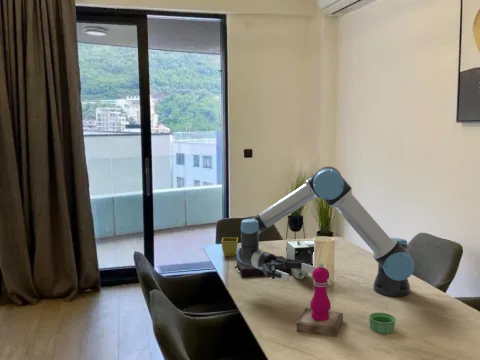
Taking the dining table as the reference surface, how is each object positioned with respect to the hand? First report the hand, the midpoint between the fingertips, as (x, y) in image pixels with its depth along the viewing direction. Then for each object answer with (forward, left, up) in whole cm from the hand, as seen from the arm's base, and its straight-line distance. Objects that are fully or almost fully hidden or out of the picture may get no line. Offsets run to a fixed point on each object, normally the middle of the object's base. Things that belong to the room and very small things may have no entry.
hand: (301, 274), depth 174 cm
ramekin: (-29, +1, -17) cm, 34 cm away
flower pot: (+57, -67, -17) cm, 90 cm away
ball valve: (+12, -44, -17) cm, 49 cm away
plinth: (-8, +6, -17) cm, 19 cm away
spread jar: (+10, -65, -17) cm, 68 cm away
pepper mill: (-8, +6, -14) cm, 17 cm away
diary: (+32, -49, -17) cm, 60 cm away
